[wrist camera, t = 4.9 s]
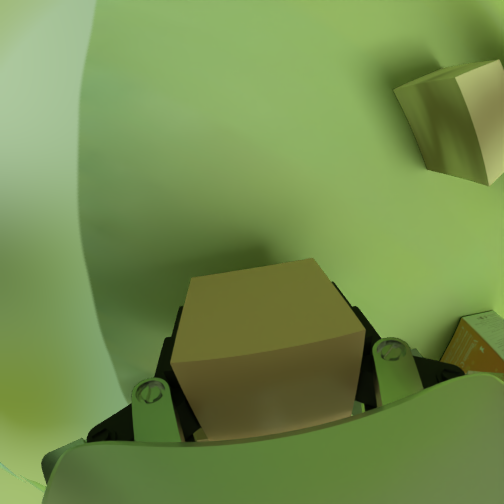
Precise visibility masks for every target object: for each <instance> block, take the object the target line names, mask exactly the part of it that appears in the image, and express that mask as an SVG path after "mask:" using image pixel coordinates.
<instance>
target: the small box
mask: <svg viewBox="0 0 504 504" xmlns="http://www.w3.org/2000/svg"><path fill="white" fill-rule="evenodd" d="M440 362H445V363H449V364H453V365H456V366H458V367H460V368H461V369H462V370H463V371H464V373H467V372H468V371H479V372H493V373H504V319H503V318H502V317H500V316H499V315H498V314H497V313H496V312H495V311H489V312H484V313H480V314H475V315H471V316H466V317H462V318H461V320H460V323H459V325H458V327H457V329H456V331H455V334H454V336H453V338H452V340H451V342H450V343H449V345H448V347H447V349H446V351H445V353H444V355H443V357H442V358H441V360H440Z"/></svg>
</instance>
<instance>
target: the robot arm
mask: <svg viewBox="0 0 504 504" xmlns="http://www.w3.org/2000/svg"><path fill="white" fill-rule="evenodd" d="M332 284H333V285H334V286H335V288H336V289H337V290H338V292H339V293H340V294H341V296H342V297H343V299H344V300H345V301H346V303H347V304H348V305H349V307H350V308H351V310H352V311H353V312H354V314H355V315H356V316H357V318H358V319H359V321H360V322H361V323H362V325H363V326H364V328H365V329H366V332H365V340H364V348H363V355H362V361H361V368H360V374H359V379H358V385H357V390H356V395H355V400H354V401H358V402H361V403H362V404H361V406H362V413H360V414H357V415H353V416H350V417H347V418H343V419H340V420H336V421H332V422H328V423H325V424H321V425H316V426H312V427H308V428H303V429H298V430H293V431H288V432H283V433H277V434H271V435H265V436H258V437H250V438H241V439H232V440H220V441H203V442H197V438H196V435H195V432H196V431H197V430H198V429H200V428H202V427H201V425H200V424H199V422H198V420H197V418H196V416H195V414H194V412H193V410H192V408H191V406H190V404H189V402H188V400H187V398H186V396H185V394H184V392H183V390H182V388H181V386H180V384H179V382H178V379H177V377H176V375H175V373H174V371H173V368H172V366H171V364H170V361H171V357H172V353H173V348H174V344H175V340H176V335H177V331H178V327H179V323H180V319H181V315H182V311H183V307H184V306H180V307H179V310H178V314H177V318H176V321H175V325H174V329H173V333H172V337H166V338H165V340H164V343H163V347H162V350H161V354H160V357H159V361H158V365H157V369H156V372H155V376H154V378H148V379H145V380H142V381H141V382H139V383H138V384H137V385H136V386H135V387H134V389H133V390H132V395H131V399H132V403H131V404H130V405H128V406H127V407H125V408H123V409H122V410H120V411H119V412H117V413H116V414H114V415H112V416H111V417H109V418H108V419H106V420H104V421H103V422H101V423H100V424H98V425H97V426H95V427H94V428H92V429H91V431H90V432H89V433H88V436H87V439H86V440H84V439H83V438H81V439H78V440H76V441H74V442H72V443H70V444H67V445H65V446H63V447H61V448H58V449H56V450H54V451H52V452H49V453H47V454H46V455H45V456H44V457H43V459H42V462H41V465H42V471H43V474H44V478H45V481H46V484H47V487H46V490H45V493H44V497H43V500H42V504H504V373H493V372H479V371H468V372H467V373H464V371H463V370H462V369H461V368H460V367H458V366H456V365H453V364H449V363H445V362H440V361H435V360H431V359H426V358H422V357H418V356H413V355H412V352H411V350H410V347H409V346H408V344H407V343H406V342H405V341H403V340H401V339H399V338H394V337H387V338H383V339H381V337H380V336H379V335H378V333H377V332H376V331H375V329H374V328H373V327H372V325H371V324H370V323H369V321H368V320H367V319H366V317H365V316H364V315H363V313H362V312H361V311H360V309H359V308H358V307H357V306H353V307H352V306H351V304H350V303H349V302H348V300H347V299H346V298H345V296H344V295H343V294H342V292H341V291H340V290H339V288H338V287H337V286H336V284H335V283H334V282H332Z"/></svg>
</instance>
